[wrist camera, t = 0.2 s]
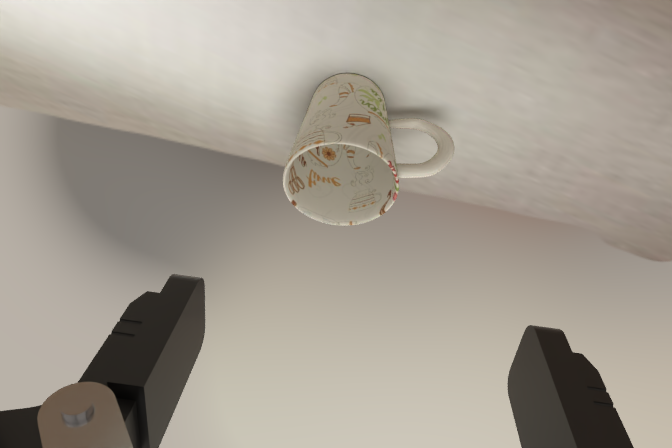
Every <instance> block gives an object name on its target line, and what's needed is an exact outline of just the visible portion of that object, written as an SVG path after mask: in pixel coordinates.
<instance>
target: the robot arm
mask: <svg viewBox="0 0 672 448" xmlns="http://www.w3.org/2000/svg"><path fill="white" fill-rule="evenodd" d="M204 287H205V286H204V280H203V279H202V278H198V277H191V276H183V275H177V274H173V275H171V276H170V278H169V279H168V281H167V282H166V284H165V286H164V287H163V289H162V291H161V292H160V293H155V292H148V291H147V292H146V293H144V294H143V295H141V296H140V297H139V298H137V299H136V300H134V301H133V302H131V303H130V304H129V306H128V307H127V309H126V311H125V312H124V313H123V315H122V317H121V318H120V321H119V322H117V324H116V326H115V327H114V329H113V330H112V333H111V335H109V336H108V338H107V339H106V341H105V342H104V344H103V346H102V347H101V348H100V350H99V351H98V353H97V354H96V356H95V357H94V359H93V360H92V362H91V363H90V365H89V366H88V368H87V369H86V371H85V372H84V374H83V376H82V377H81V379H80V380H79V381H78V383H75V384H71V385H69V386H66V387H63V388H61V389H59V390H58V391H57V392H55V393H53V394H52V395H51V396H50V397H48V398H47V399H46V401H45V402H44V403H43V404H42V405H40V406H36V407H31V408H24V409H15V410H7V411H0V448H158V447H159V445H160V443H161V441H162V438H163V436H164V434H165V431H166V429H167V427H168V424H169V422H170V420H171V417H172V415H173V413H174V410H175V408H176V405H177V403H178V401H179V399H180V396H181V394H182V392H183V389H184V387H185V385H186V382H187V380H188V378H189V375H190V373H191V371H192V368H193V366H194V364H195V361H196V359H197V357H198V354H199V352H200V350H201V346H202V343H203V338H204V333H205V290H204V289H205V288H204ZM508 394H509V399H510V403H511V407H512V411H513V415H514V419H515V423H516V427H517V431H518V434H519V438H520V442H521V447H522V448H634V447H633V445H632V443H631V441H630V439H629V437H628V435H627V432H626V430H625V428H624V426H623V424H622V421H621V420H620V417H619V415H618V413H617V411H616V409H615V408H613V402H612V400H611V398H610V396H609V394H608V393H607V392H606V387H605V385H604V383H603V381H602V378H601V376H600V374H599V372H598V370H597V369H596V368H595V367H594V366H593V365H592V364H591V363H590V362H589V361H588V360H587V359H586V358H585V357H584V355H583V354H579V353H573V352H572V351H571V348H570V346H569V343H568V341H567V339H566V336H565V334H564V332H563V331H562V330H560V329H553V328H546V327H539V326H532V325H530V326H528V327H527V328H526V330H525V332H524V334H523V337H522V339H521V342H520V345H519V347H518V350H517V352H516V355H515V358H514V361H513V363H512V366H511V369H510V371H509V376H508Z"/></svg>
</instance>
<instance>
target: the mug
mask: <svg viewBox="0 0 672 448" xmlns="http://www.w3.org/2000/svg"><path fill="white" fill-rule="evenodd" d="M390 128H400V129H417V130H420V131H423V132H425V133H427V134H429V135H430V136H431V137H432V138H433V139H434V140H435V141H436V143H437V145H438V151H437V153H436V154H435V155H434V156H433V157H432V158H431V159H430V160H428V161H426V162H424V163H420V164H396V159H395V154H394V148H393V143H392V138H391V132H390ZM453 154H454V143H453V140H452V138H451V137H450V135H449V134H448V133H447V132H446V131H445V130H444V129H442V128H441V127H439V126H437V125H435V124H432V123H430V122H428V121H425V120H422V119H415V118H409V119H395V120H389V121H388V116H387V111H386V105H385V101H384V97H383V95H382V92H381V91H380V89H379V88H378V87H377V85H376V84H375V83H373V82H372V81H371V80H369V79H367V78H366V77H363V76H360V75H357V74H348V73H346V74H338V75H335V76H332V77H330V78H328V79H326V80H325V81H324V82H322V83H321V84H320V85H319V87H318V88H317V90H316V91H315V93H314V96H313V98H312V100H311V103H310V105H309V108H308V110H307V113H306V115H305V118H304V120H303V123H302V125H301V128H300V130H299V133H298V135H297V138H296V140H295V143H294V145H293V148H292V150H291V153H290V155H289V158H288V160H287V163H286V166H285V169H284V173H283V186H284V190H285V193H286V195H287V197H288V199H289V200H290V202H291V203H292V204H293V205H294V206H295V207H296V208H297V209H298V210H299V211H300V212H302V213H303V214H305V215H307V216H308V217H310V218H312V219H315V220H317V221H320V222H323V223H327V224H333V225H356V224H361V223H365V222H368V221H371V220H373V219H375V218H378V217H379V216H381V215H382V214H384V213H385V212H386V211H387V210H388V209H389V208H390V207H391V206H392V204H393V203H394V202H395V200H396V197H397V194H398V190H399V178H416V177H427V176H432V175H434V174H436V173H438V172H440V171H441V170H442V169H443V168H445V167H446V166H447V165H448V164H449V162H450V161H451V159H452V157H453Z"/></svg>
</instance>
